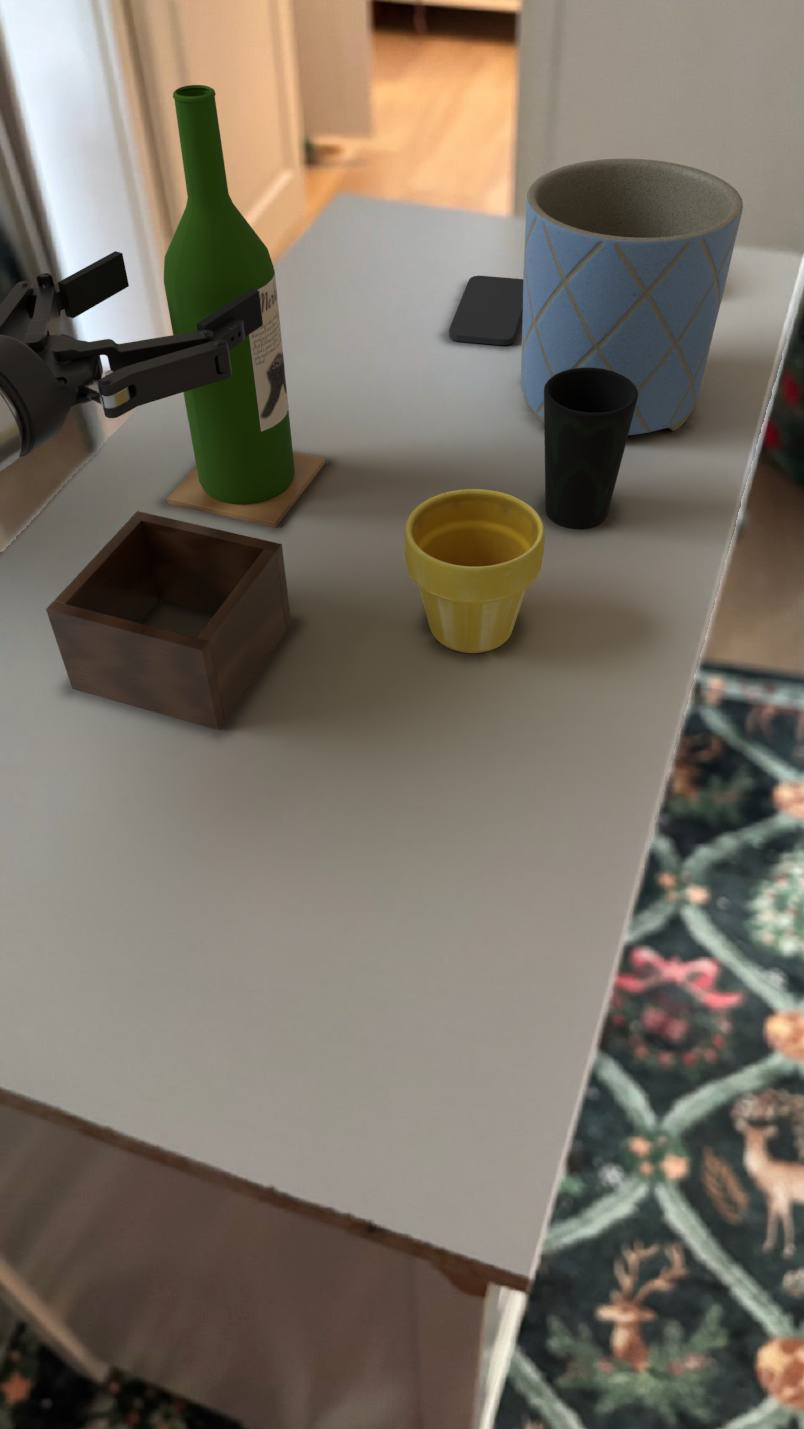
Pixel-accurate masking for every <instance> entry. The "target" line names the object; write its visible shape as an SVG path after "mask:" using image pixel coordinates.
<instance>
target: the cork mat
mask: <svg viewBox="0 0 804 1429" xmlns="http://www.w3.org/2000/svg"><path fill="white" fill-rule="evenodd" d="M293 459H294V469H295V473H294V476H293V480H292V483H291V484H290V486H289V487H288V488H287V489H286V490H285V491H284V492H283V493H281V494H280V495H278V496H276V497H274V498H272V499H270V500H267V501H263V502H259V503H254V504H245V505H243V504H230V503H225V502H221V501H219V500H216V499H214V498H212V497H211V496H209V495H208V494H207V493H206V492H205V491H204V489H203V487H202V486H201V484H200V482H199V478H198V472H197V466H194V468H193V469H192V470H191V471H190V472H189V473H188V474H187V476H186V477H185V478H184V479H183V480H182V481H181V482H180V483H179V484H178V485H177V487H176V488H175V489H174V490H173V491H172V492H171V493H170V494H169V495H168V497H166V503H167V504H168V505H172V506H176V507H180V508H181V507H182V508H185V509H186V508H187V509H190V510H194V511H200V512H204V513H207V514H208V513H209V514H213V515H217V516H220V517H221V516H222V517H226V518H231V519H235V520H239V521H244V522H248V523H253V524H257V525H261V526H265V527H271V528H277V527H278V526H279V524H280V523H281V521H282V520H283V519H284V518H285V516H286V515H288V514H287V513H288V512H289V511H290V510H291V508H292V507H293V506H294V505H295V503H296V502H297V501H298V499H299V498H300V497H301V495H303V492H304V491H305V490H306V489H307V487H308V486H309V485H310V484H311V483H312V481H314V479H315V477H316V476H317V475H318V473H319V472H320V471H321V469H322V468H323V467H324V465H325V464H326V458H325V457H321V456H316V455H312V454H307V453H303V452H302V453H301V452H297V451H293Z"/></svg>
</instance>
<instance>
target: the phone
mask: <svg viewBox="0 0 804 1429" xmlns="http://www.w3.org/2000/svg"><path fill="white" fill-rule="evenodd" d="M522 318H523V278H513V277H503V276H502V277H501V276H491V275H474V276H471V277H469V279H468V281H467V283H466V286H465V289H464V291H463V293H462V296H461V299H460V301H459V304H458V306H457V309H456V311H455V314H454V316H453V319H452V321H451V323H450V326H449V329H448V337H449V339H450V340H452V341H454V342H462V343H473V344H482V345H483V344H485V345H495V346H509V345H511V344H513V343H514V341H515V340H516V339H515V338H516V336H517V332H518V330H519V326H520V323H521V320H522Z"/></svg>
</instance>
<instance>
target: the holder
mask: <svg viewBox="0 0 804 1429" xmlns="http://www.w3.org/2000/svg"><path fill="white" fill-rule="evenodd" d="M284 559H285V558H284V551H283V544H282V543H280V542H275V541H269V540H266V539H261V538H258V537H257V538H256V537H252V536H248V535H244V534H239V533H235V532H231V531H226V530H223V529H222V530H221V529H218V528H213V527H209V526H204V525H200V524H195V523H191V522H187V521H184V520H183V521H182V520H179V519H173V518H171V517H170V518H169V517H165V516H160V515H157V514H153V513H148V512H143V511H139V510H136V512H134V514H132V516H131V517H130V518H129V519H128V521H127V522H126V523H125V524H124V525H123V526H122V527H120V529H118V531H117V532H116V533H115V534H114V535H113V536H112V538H111V539H110V540H109V541H108V542H107V543H106V544H105V545H104V546H103V547H102V548H101V549H100V550H99V551H98V553H97V554H96V555H95V556H94V557H93V558H92V559H91V560H90V561H89V562H88V563H87V565H85V566H84V568H83V569H82V570H81V571H80V572H79V573H78V574H77V575H76V576H75V577H74V578H73V580H71V582H70V583H69V584H68V585H67V586H66V587H65V588H64V589H63V590H62V591H61V592H60V594H59V595H58V596H57V597H56V598H55V599H54V600H53V601H52V602H51V603H50V604H49V605H48V606H47V607H46V609H45V611H46V614H47V617H48V621H49V623H50V627H51V629H52V632H53V636H54V639H55V641H56V644H57V648H58V650H59V653H60V656H61V659H62V662H63V665H64V668H65V671H66V674H67V676H68V680H69V683H70V686H71V689H72V690H76V691H78V692H83V693H85V694H88V695H89V694H90V695H93V696H95V697H96V696H97V697H100V698H104V699H106V700H107V699H108V700H110V701H114V702H117V703H121V704H125V705H128V706H131V707H136V708H139V709H143V710H146V711H150V712H154V713H156V714H159V715H163V716H167V717H170V718H174V719H178V720H181V721H185V722H188V723H191V724H195V725H199V726H203V727H206V728H209V729H213V730H217V731H219V730H220V729H221V728H222V726H223V724H224V723H225V722H226V720H227V719H228V717H229V716H230V714H231V713H232V712H233V710H234V709H235V707H236V706H237V704H238V703H239V701H240V699H241V698H242V697H243V695H244V694H245V692H246V691H247V689H248V688H249V686H250V685H251V683H252V682H253V680H255V678H256V676H257V675H258V673H259V672H260V670H261V669H262V667H263V666H264V664H265V663H266V661H267V660H268V658H269V657H270V656H271V654H272V653H273V651H274V650H275V648H276V647H277V645H278V644H279V643H280V641H281V639H282V638H283V636H284V635H285V634H286V633H287V631H288V629H289V627H290V626H291V625H292V620H291V619H292V618H291V608H290V602H289V592H288V584H287V575H286V568H285V567H286V566H285V560H284ZM159 600H161V601H165V602H169V603H174V604H178V605H182V606H185V607H189V608H193V609H197V610H201V611H204V612H209V613H212V614H214V615H213V616H212V617H211V619H210V620H209V621H208V623H207V624H206V625H205V627H203V629H202V630H201V631H200V632H199V634H198V635H197V637H193V636H189V635H186V634H181V633H179V632H174V631H170V630H166V629H164V628H163V629H162V628H158V627H155V626H151V625H147V624H144V623H141V622H142V621H143V620H144V619H145V618H146V616H147V615H148V614H149V613H150V612H151V610H152V609H153V608H154V607H155V605H156V604H157V603H158V602H159Z"/></svg>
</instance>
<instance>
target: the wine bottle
mask: <svg viewBox="0 0 804 1429" xmlns="http://www.w3.org/2000/svg"><path fill="white" fill-rule="evenodd" d="M172 98H173V100H174V106H175V115H176V120H177V129H178V137H179V145H180V151H181V159H182V167H183V174H184V181H185V188H186V194H187V195H186V196H187V198H186V205H185V208H184V209H183V210H184V211H183V212H182V215H181V217H180V220H179V222H178V224H177V227H176V229H175V231H174V234H173V236H172V238H171V241H170V243H169V246H168V248H167V249H166V252H165V255H164V258H163V260H164V261H163V285H164V291H165V296H166V303H167V308H168V313H169V319H170V326H171V330H172V335H177V334H183V333H189V332H195V331H197V323H199V322H200V321H202V320H203V319H205V318H206V317H208V316H209V315H211V314H213V313H214V312H216V311H217V310H219V309H220V308H222V307H223V306H225V305H226V304H228V303H230V302H231V301H233V300H234V299H236V298H237V297H239V296H240V295H242V294H244V293H245V292H247V291H248V290H250V289H254V290H258V291H259V295H260V304H261V312H262V321H263V325H262V326H261V327H259V328H258V329H257V330H255V331H254V332H252V333H251V334H249V335H248V336H246V337H245V339H244V341H243V342H242V343H240V344H238V345H237V346H236V347H235V348H233V349H232V350H230V351H229V355H230V363H231V370H232V376H231V377H230V378H228V379H224V380H221V381H218V382H215V383H211V384H208V385H205V386H202V387H198V388H195V389H192V390H189V391H185V392H182V393H183V397H184V398H183V399H184V402H185V403H184V405H185V410H186V415H187V420H188V426H189V433H190V437H191V443H192V448H193V454H194V455H193V456H194V460H195V465H196V466H197V472H198V478H199V482H200V484H201V486H202V487H203V489H204V491H205V492H206V493H207V494H208V495H209V496H211V497H212V498H214V499H216V500H219V501H221V502H225V503H230V504H243V505H245V504H254V503H259V502H263V501H267V500H270V499H272V498H274V497H276V496H278V495H280V494H281V493H283V492H284V491H285V490H286V489H287V488H288V487H289V486H290V484H291V483H292V480H293V476H294V473H295V469H294V459H293V452H294V451H293V450H294V449H293V441H292V430H291V421H290V420H291V419H290V410H289V408H290V407H289V399H288V388H287V379H286V369H285V360H284V350H283V339H282V329H281V318H280V309H279V299H278V290H277V280H276V272H275V268H274V264H273V261H272V258H271V254H270V251H269V249H268V247H267V246H266V244H265V243H264V242H263V240H262V239H261V238H260V237H259V235H258V234H257V233H256V231H255V230H254V228H253V227H252V226H251V225H250V223H249V222H248V221H247V219H246V218H245V217H244V216H243V215H242V212H241V211H240V210H239V209H238V208H237V207H236V205H235V203H234V201H233V200H232V198H231V196H230V194H229V187H228V181H227V174H226V166H225V159H224V153H223V145H222V138H221V131H220V123H219V116H218V109H217V102H216V91H215V89H214V88H213V87H210V86H208V85H204V84H189V85H183V86H181V87H178V88H177V89H176V90H173V92H172ZM196 466H195V467H196Z"/></svg>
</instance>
